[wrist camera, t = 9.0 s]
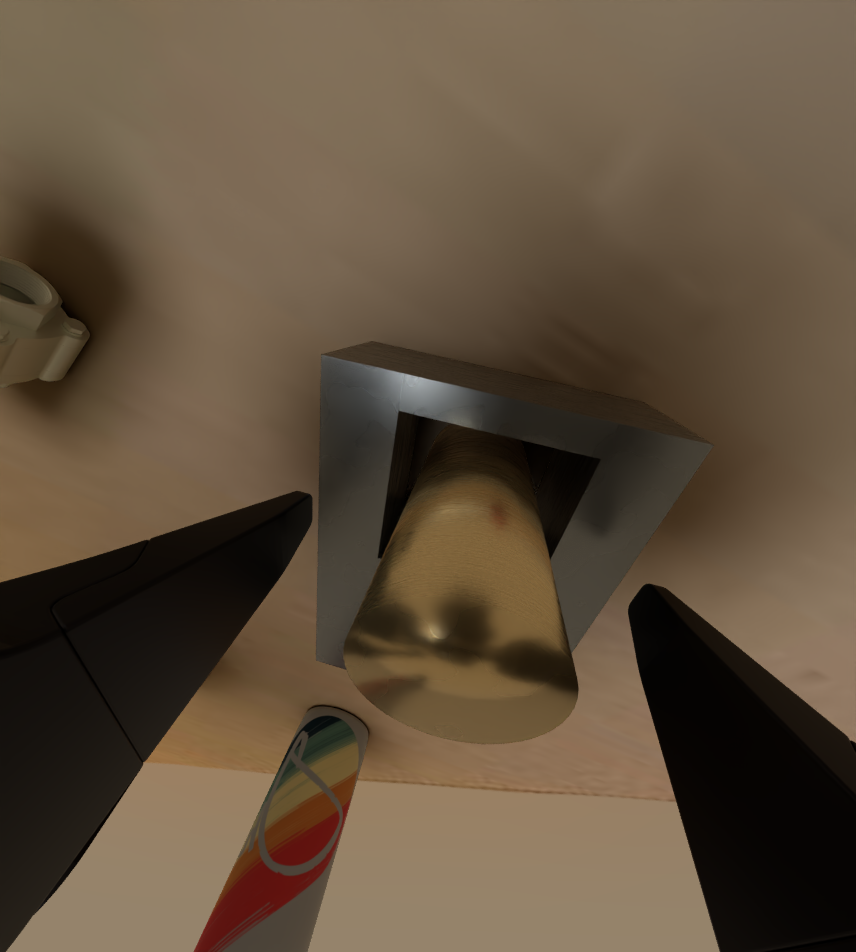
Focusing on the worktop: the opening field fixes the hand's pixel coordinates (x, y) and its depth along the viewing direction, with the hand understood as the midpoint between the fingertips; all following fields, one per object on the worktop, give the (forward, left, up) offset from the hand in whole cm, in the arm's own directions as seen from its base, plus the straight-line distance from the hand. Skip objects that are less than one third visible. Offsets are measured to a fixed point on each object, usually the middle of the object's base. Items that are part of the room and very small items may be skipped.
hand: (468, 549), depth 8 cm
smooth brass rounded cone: (0, 0, -6) cm, 6 cm away
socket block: (-3, 0, -6) cm, 6 cm away
